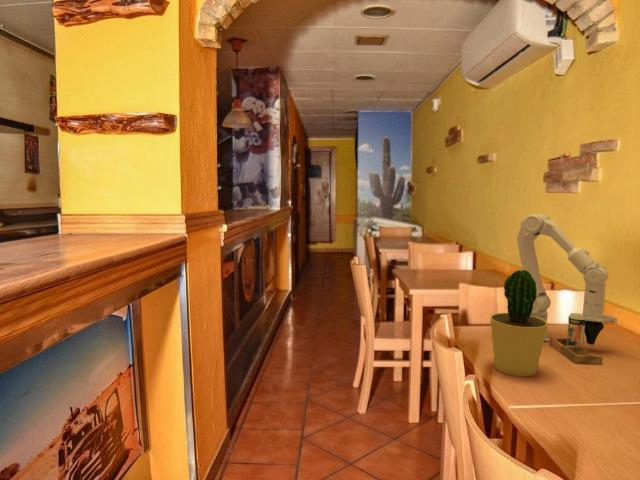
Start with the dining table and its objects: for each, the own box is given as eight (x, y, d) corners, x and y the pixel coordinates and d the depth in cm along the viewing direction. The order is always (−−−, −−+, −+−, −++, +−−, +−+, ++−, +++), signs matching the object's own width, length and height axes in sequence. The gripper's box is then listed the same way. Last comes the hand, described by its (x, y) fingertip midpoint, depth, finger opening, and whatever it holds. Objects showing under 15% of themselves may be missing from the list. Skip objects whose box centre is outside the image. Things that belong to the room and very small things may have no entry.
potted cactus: (523, 358, 145) (530, 263, 141) (556, 378, 130) (564, 272, 126) (477, 360, 142) (483, 263, 139) (505, 380, 127) (511, 272, 124)
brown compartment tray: (575, 363, 141) (575, 355, 140) (549, 345, 158) (550, 337, 157) (602, 364, 140) (602, 356, 140) (573, 345, 157) (574, 338, 157)
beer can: (563, 348, 154) (565, 313, 153) (573, 347, 156) (576, 312, 154) (575, 353, 150) (578, 317, 148) (586, 351, 151) (589, 316, 150)
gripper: (577, 305, 147) (573, 347, 149) (624, 307, 147) (620, 348, 148) (566, 300, 154) (563, 340, 156) (611, 301, 154) (607, 341, 155)
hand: (590, 343), depth 152 cm, fingers closed
